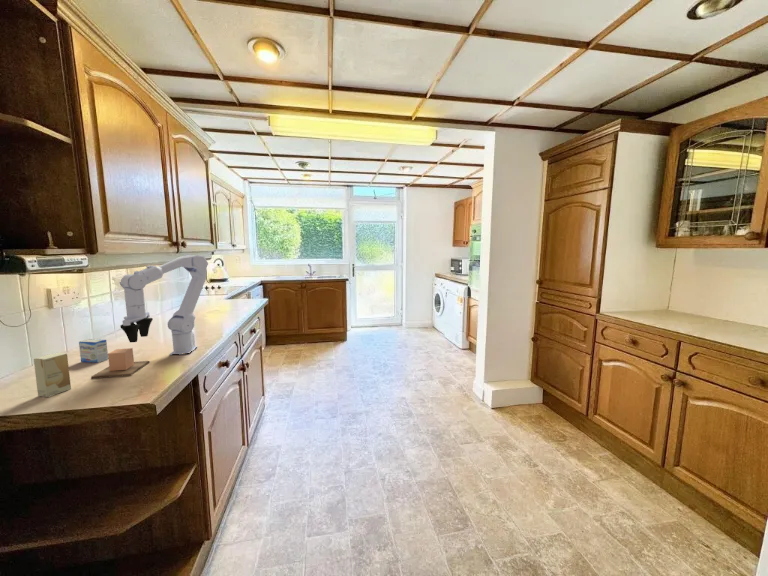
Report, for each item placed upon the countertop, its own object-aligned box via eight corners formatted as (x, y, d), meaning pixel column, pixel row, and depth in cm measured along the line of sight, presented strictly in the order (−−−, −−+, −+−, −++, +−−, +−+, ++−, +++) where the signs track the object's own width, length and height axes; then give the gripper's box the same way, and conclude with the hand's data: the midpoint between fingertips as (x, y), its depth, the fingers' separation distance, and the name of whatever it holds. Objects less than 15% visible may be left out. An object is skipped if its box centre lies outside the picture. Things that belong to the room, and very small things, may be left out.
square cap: (118, 365, 117) (116, 349, 116) (134, 364, 118) (132, 348, 117) (109, 370, 112) (107, 353, 111) (126, 369, 113) (124, 352, 112)
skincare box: (47, 397, 94) (42, 359, 92) (37, 396, 95) (31, 358, 93) (72, 388, 100) (67, 352, 98) (62, 387, 101) (57, 351, 99)
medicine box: (80, 362, 123) (77, 341, 122) (92, 358, 127) (89, 338, 126) (97, 363, 122) (95, 342, 121) (109, 359, 127) (106, 339, 125)
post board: (114, 365, 120) (112, 348, 119) (149, 362, 123) (147, 345, 122) (91, 378, 107) (88, 359, 107) (130, 375, 110) (128, 357, 109)
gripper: (134, 302, 124) (137, 334, 126) (111, 309, 110) (115, 345, 112) (154, 301, 125) (157, 333, 127) (133, 308, 111) (137, 344, 113)
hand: (139, 339), depth 119 cm, fingers open, 7 cm apart
